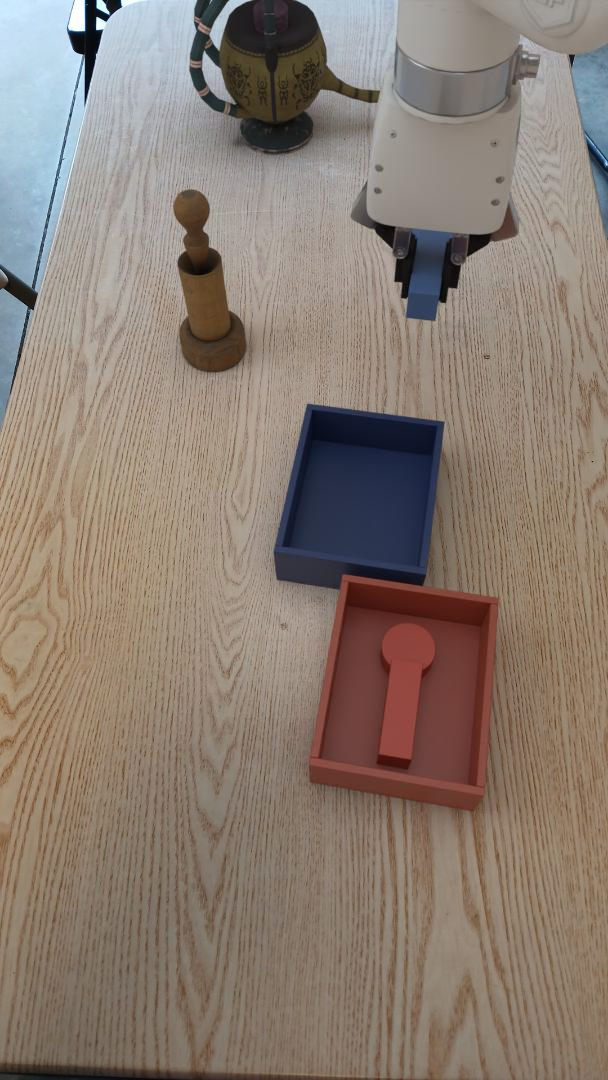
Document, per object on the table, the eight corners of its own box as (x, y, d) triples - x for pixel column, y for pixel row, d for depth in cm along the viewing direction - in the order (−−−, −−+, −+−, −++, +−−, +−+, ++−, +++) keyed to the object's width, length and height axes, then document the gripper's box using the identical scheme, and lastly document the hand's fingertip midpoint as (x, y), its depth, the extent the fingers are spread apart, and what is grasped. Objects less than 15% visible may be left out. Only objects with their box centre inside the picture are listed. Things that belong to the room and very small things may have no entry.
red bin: (473, 811, 61) (484, 796, 57) (309, 782, 62) (308, 765, 58) (487, 623, 68) (499, 597, 64) (341, 600, 70) (342, 573, 65)
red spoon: (420, 771, 62) (424, 762, 60) (364, 761, 62) (366, 752, 60) (435, 637, 67) (439, 623, 65) (383, 628, 68) (386, 614, 65)
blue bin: (419, 601, 69) (426, 574, 65) (276, 579, 71) (273, 551, 66) (437, 454, 77) (444, 421, 72) (307, 437, 78) (307, 403, 74)
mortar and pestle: (168, 345, 84) (133, 192, 68) (218, 313, 86) (195, 157, 70) (209, 383, 81) (182, 233, 66) (259, 349, 83) (245, 196, 68)
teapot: (205, 102, 104) (177, -118, 83) (406, 96, 103) (426, -126, 83) (200, 164, 98) (169, -56, 77) (413, 159, 97) (437, -64, 77)
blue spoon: (446, 322, 67) (451, 296, 64) (394, 316, 67) (396, 290, 65) (459, 230, 72) (464, 203, 69) (411, 225, 72) (414, 198, 70)
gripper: (584, 44, 53) (526, 268, 69) (337, 25, 55) (336, 247, 71) (582, 114, 50) (521, 334, 66) (317, 92, 52) (321, 310, 68)
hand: (425, 287), depth 68 cm, fingers closed on blue spoon, 2 cm apart
